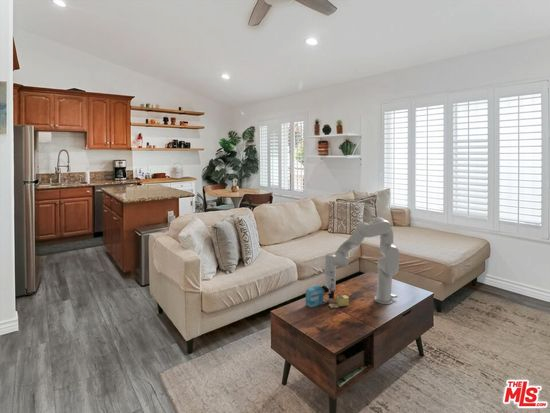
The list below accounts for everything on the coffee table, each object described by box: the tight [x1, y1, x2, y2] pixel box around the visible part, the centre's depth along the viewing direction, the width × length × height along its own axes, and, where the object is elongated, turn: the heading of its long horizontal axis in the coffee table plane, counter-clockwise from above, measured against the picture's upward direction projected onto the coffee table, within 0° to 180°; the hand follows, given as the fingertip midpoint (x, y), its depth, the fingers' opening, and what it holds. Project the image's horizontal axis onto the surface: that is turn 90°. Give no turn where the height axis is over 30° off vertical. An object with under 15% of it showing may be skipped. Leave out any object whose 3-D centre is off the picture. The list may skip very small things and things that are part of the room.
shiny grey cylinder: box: [327, 293, 332, 304], centre depth 234 cm, size 2×2×6 cm
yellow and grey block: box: [335, 294, 350, 307], centre depth 231 cm, size 7×5×6 cm, turn 101°
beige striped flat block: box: [328, 303, 339, 309], centre depth 228 cm, size 5×4×1 cm
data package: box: [305, 285, 324, 309], centre depth 230 cm, size 12×4×12 cm, turn 124°
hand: (328, 295), depth 234 cm, fingers open, 9 cm apart
